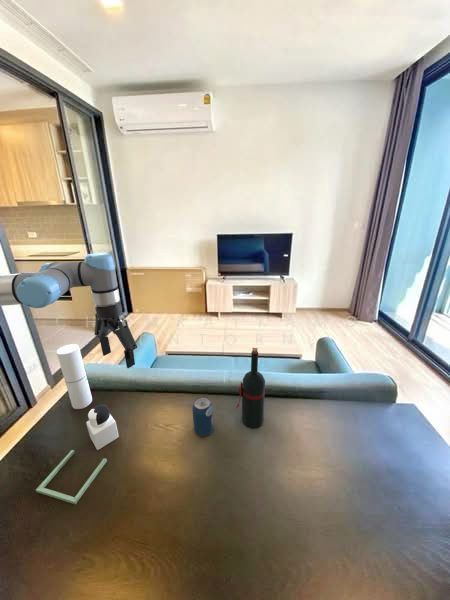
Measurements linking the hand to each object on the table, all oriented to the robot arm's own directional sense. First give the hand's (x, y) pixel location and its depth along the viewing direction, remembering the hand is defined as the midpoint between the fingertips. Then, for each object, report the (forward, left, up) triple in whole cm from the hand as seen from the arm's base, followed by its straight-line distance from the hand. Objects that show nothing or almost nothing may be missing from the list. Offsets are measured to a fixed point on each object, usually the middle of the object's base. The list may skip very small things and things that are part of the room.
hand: (118, 359), depth 86 cm
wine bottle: (+45, +8, -24) cm, 52 cm away
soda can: (+30, 0, -24) cm, 39 cm away
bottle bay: (-2, -24, -24) cm, 34 cm away
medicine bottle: (-2, -11, -24) cm, 27 cm away
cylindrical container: (-22, +1, -24) cm, 33 cm away
